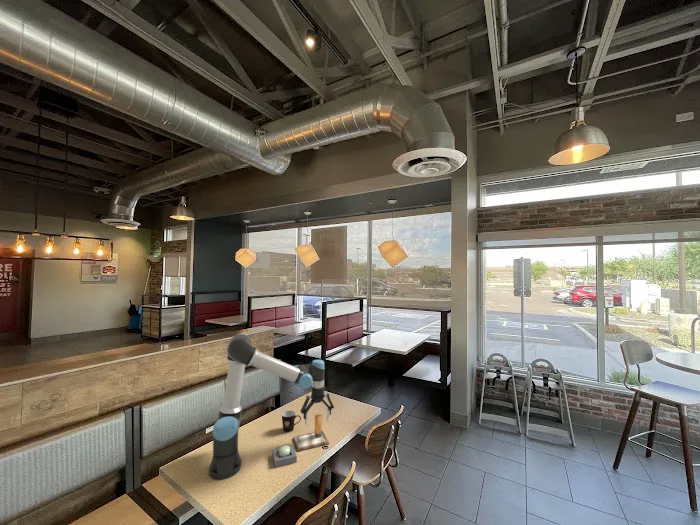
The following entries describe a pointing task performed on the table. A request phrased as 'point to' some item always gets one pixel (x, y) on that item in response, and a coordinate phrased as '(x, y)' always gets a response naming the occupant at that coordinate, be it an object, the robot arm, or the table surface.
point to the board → (309, 441)
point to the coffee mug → (289, 420)
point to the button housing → (284, 460)
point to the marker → (318, 425)
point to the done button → (284, 451)
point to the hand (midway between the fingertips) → (317, 422)
